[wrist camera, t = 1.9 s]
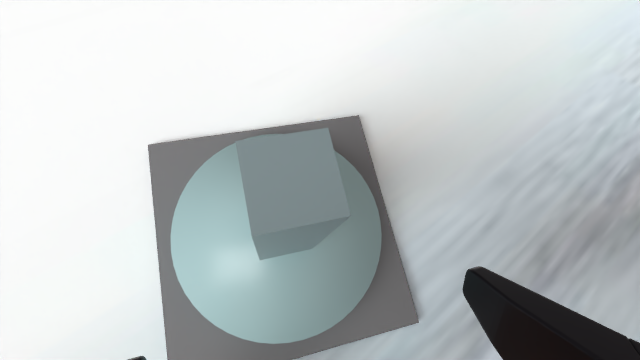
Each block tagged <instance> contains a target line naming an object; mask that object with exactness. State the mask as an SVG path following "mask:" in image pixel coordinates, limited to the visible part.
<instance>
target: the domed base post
mask: <svg viewBox="0 0 640 360" xmlns="http://www.w3.org/2000/svg"><path fill="white" fill-rule="evenodd" d="M235 142H236V143H234V144H231V145H229V146H227V147H225V148H224V149H222V150H221V151H219V152H217V153H216V154H214V155H213V156H212V157H211V158H210V159H208V160H207V161H206V162H205V163H204V164H203V165H202V166H201V167H200V168H199V169H198V170H197V171H196V172H195V174H194V175H193V176H192V178H191V179H190V180H189V182H188V183H187V185H186V187H185V188H184V190H183V192H182V194H181V196H180V198H179V201H178V203H177V206H176V208H175V212H174V216H173V220H172V227H171V254H172V260H173V266H174V269H175V272H176V275H177V278H178V280H179V283H180V285H181V287H182V289H183V291H184V293H185V294H186V296H187V297H188V298H189V300H190V301H191V303H192V304H193V306H194V307H195V308H196V309H197V310H198V311H199V312H200V313H201V314H202V315H203V316H204V317H205V318H206V319H207V320H209V321H210V322H211V323H213V324H214V325H215V326H217V327H218V328H220V329H222V330H224V331H225V332H227V333H229V334H231V335H234V336H236V337H239V338H241V339H245V340H249V341H253V342H258V343H269V344H279V343H290V342H295V341H300V340H304V339H307V338H310V337H313V336H315V335H318V334H320V333H322V332H324V331H326V330H327V329H329V328H331V327H333V326H334V325H335V324H337V323H338V322H340V321H341V320H342V319H343V318H345V317H346V316H347V315H348V314H349V313H350V312H351V311H352V310H353V309H354V308H355V306H356V305H357V304H358V303H359V302H360V300H361V299H362V298H363V296H364V294H365V293H366V291H367V290H368V288H369V286H370V284H371V282H372V280H373V277H374V275H375V272H376V269H377V266H378V262H379V258H380V252H381V238H382V233H381V222H380V217H379V212H378V208H377V205H376V202H375V200H374V197H373V195H372V193H371V191H370V189H369V187H368V185H367V183H366V182H365V180H364V179H363V177H362V176H361V174H360V173H359V172H358V171H357V170H356V169H355V167H354V166H353V165H352V164H351V163H350V162H349V161H347V160H346V159H345V158H344V157H343V156H342V155H340V154H339V153H337V152H336V151H335V150H334V148H333V144H332V141H331V137H330V133H329V129H328V128H323V129H316V130H309V131H302V132H295V133H288V134H267V135H259V136H254V137H250V138H247V139H244V140H239V141H235Z"/></svg>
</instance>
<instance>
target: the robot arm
mask: <svg viewBox="0 0 640 360" xmlns="http://www.w3.org/2000/svg"><path fill="white" fill-rule="evenodd" d="M463 294H464V296H465V298H466V300H467V302H468V303H469V305H470V307H471V308H472V310H473V312H474V314H475V315H476V317H477V319H478V321H479V322H480V324H481V326H482V328H483V329H484V331H485V333H486V334H487V336H488V338H489V339H490V341H491V343H492V344H493V346H494V347H495V349H496V350H497V352H498V353H499V354H500V356H501V357H502V359H503V360H640V343H639V342H636V341H634V340H632V339H628V338H627V337H626V336H624V335H622V334H620V333H618V332H616V331H614V330H612V329H609V328H607V327H605V326H603V325H601V324H599V323H597V322H595V321H593V320H591V319H589V318H587V317H585V316H583V315H581V314H579V313H576V312H574V311H572V310H570V309H568V308H566V307H564V306H562V305H560V304H558V303H556V302H554V301H552V300H550V299H548V298H546V297H543V296H541V295H539V294H537V293H535V292H533V291H531V290H529V289H527V288H525V287H523V286H521V285H519V284H517V283H515V282H513V281H510V280H508V279H506V278H504V277H502V276H500V275H498V274H496V273H494V272H492V271H490V270H488V269H486V268H483V267H474V268H471V269H468V270H467V272H466V275H465V280H464V284H463ZM128 360H146V358H145V357H144V356H139V357H135V358H131V359H128Z"/></svg>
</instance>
